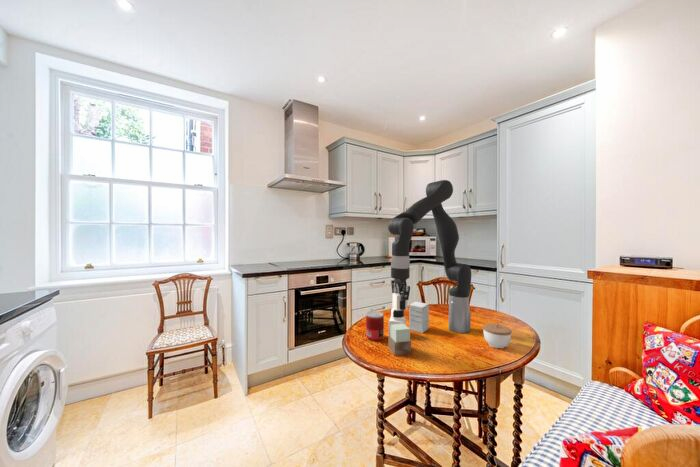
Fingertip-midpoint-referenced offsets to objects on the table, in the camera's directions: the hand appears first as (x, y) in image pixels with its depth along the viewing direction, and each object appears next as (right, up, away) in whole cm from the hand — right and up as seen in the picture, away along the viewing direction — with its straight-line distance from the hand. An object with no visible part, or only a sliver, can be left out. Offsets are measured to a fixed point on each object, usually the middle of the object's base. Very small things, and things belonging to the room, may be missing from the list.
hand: (399, 307), depth 105 cm
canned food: (-9, -18, +12) cm, 24 cm away
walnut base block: (0, -18, 0) cm, 18 cm away
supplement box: (+14, -18, +23) cm, 32 cm away
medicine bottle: (+2, -18, +17) cm, 25 cm away
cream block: (0, 0, 0) cm, 0 cm away
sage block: (0, -13, 0) cm, 13 cm away
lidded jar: (+43, -18, +5) cm, 47 cm away
